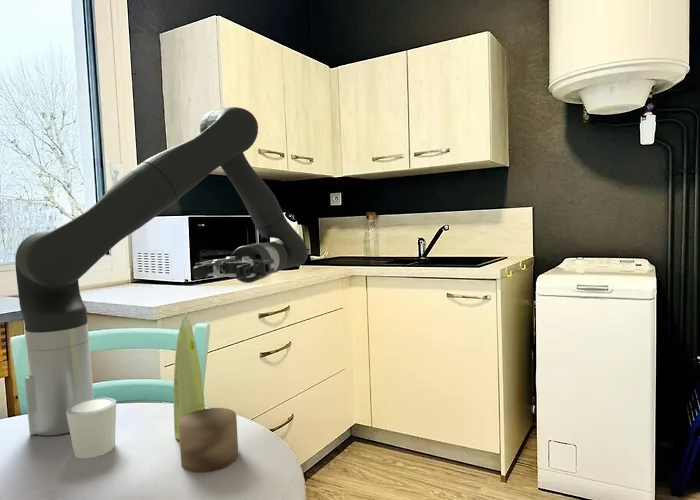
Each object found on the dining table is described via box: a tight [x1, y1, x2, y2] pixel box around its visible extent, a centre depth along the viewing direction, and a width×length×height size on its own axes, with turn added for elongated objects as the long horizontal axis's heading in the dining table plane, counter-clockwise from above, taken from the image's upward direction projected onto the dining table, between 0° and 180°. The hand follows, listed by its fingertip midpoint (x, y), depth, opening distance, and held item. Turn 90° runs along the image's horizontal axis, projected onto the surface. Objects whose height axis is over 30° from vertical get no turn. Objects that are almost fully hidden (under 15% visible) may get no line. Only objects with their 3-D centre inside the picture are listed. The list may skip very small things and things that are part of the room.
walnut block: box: [179, 407, 239, 474], centre depth 74 cm, size 8×8×6 cm
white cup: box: [66, 396, 117, 459], centre depth 78 cm, size 7×7×7 cm
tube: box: [173, 310, 206, 441], centre depth 81 cm, size 6×5×20 cm
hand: (216, 272), depth 90 cm, fingers open, 8 cm apart
